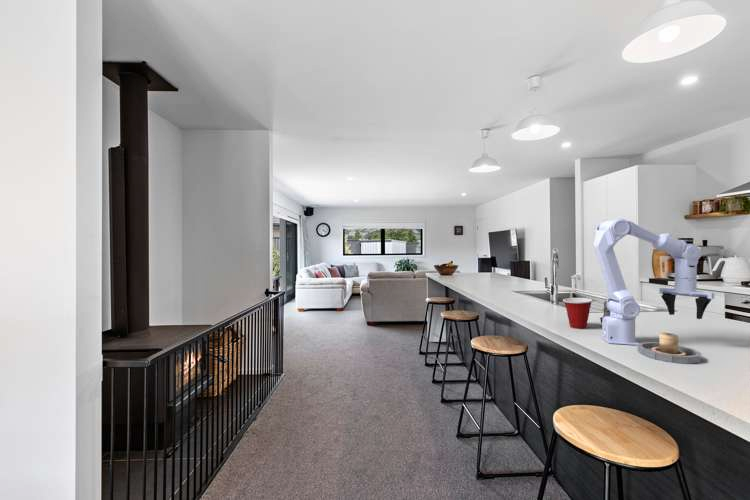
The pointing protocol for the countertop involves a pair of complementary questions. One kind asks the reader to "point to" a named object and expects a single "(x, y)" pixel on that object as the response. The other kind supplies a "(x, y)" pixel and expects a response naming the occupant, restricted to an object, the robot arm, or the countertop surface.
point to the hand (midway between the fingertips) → (685, 316)
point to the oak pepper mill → (668, 343)
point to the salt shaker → (605, 311)
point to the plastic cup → (578, 311)
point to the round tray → (683, 355)
